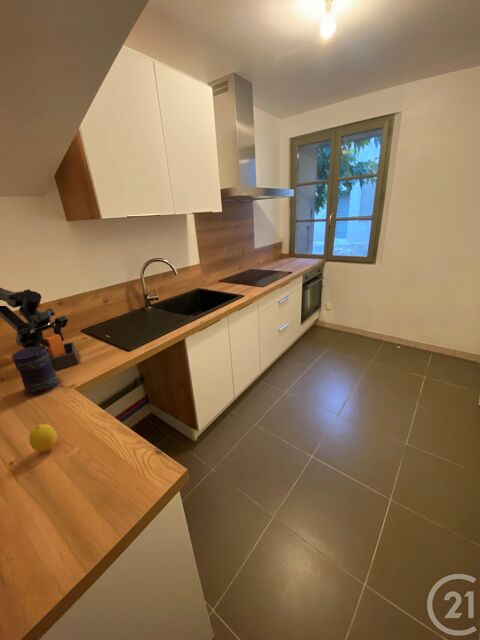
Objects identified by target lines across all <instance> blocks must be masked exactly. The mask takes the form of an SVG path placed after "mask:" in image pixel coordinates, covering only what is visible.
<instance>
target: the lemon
mask: <svg viewBox="0 0 480 640" xmlns="http://www.w3.org/2000/svg"><path fill="white" fill-rule="evenodd" d="M28 438H29V444H30V446H31V448H32V449H33V450H35V451H37V452H46V451H49V450H51V448H53V447H54V445H55V444H56V442H57V438H58V435H57V432H56V429H55V428H54V427H53V426H52V425H50V424H48V423H47V424H46V423H42V424H39V425H36V426H35V427H34V428H33V429H32V430H31V431H30V433H29V437H28Z"/></svg>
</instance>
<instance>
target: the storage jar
mask: <svg viewBox="0 0 480 640" xmlns="http://www.w3.org/2000/svg"><path fill="white" fill-rule="evenodd" d="M11 358H12V360H13V363H14V366H15V368H16V371H18V372H19V375H20V377H21V382H22V384H23V387H24V389H25V390H26V393H27V395H28V396H39V395H44V394H46V393H48V392H51V391H52V390H54V389H55V388H56V387H57V386H59V380H58V376H57V373H56V371H54V369H53V368H52V365H51V362H50V361H51V360H50V357H49V354H48V352H47V347H46V346H44V345H40V346H32V347H28V348H23V349H20V350H18V351H16V352H14V353H13V354H12V355H11Z"/></svg>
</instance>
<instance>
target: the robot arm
mask: <svg viewBox="0 0 480 640" xmlns="http://www.w3.org/2000/svg"><path fill="white" fill-rule="evenodd" d="M0 300H3V301H6V303H7V306H0V318H1V319H2V320H3V321H4V322H6V323H7V324H8V325H9V326H10V327H12V328H13V329H14V330H15V331H16V337H15V338H16V339H15V343H16V345H17V346H18V347H22V348H23V349H25V348H28V347H32V346H45V347H46V348H47V347H49V344H48V343H47V342H46V341H45V340H44V335H43V332H44V331H47V330H49V329H53V333H54V334H58V335H60V337H61V340H62V342H64V340H65V339H64V336H63V332H62V329H63V328H65V327H66V326H67V325H68V321H69V318H68V317H67V316H66V315H61V316H59V317H56V318H54V321H53V322H51V319H52V318H53V317H54V316H55V315H56V313H55V311H54V309H52V308H51V307H49V308H47V309H45V310H44V311H40V310H39V309H38V308H39V307H40V304H41V300H42V295H41V294H40V293H39V292H37V291H34V290H31V289H28V288H27V289H24V290H20V291H12V290H9V289H6V288H5V289H4V288H2V287H0ZM8 306H9V307H8ZM10 307H11V308H13V309H15V308H18V312H19V313H18V314H19V315H18V314H16V312H14V311H13V310H12V309H10ZM20 316H22V317H23V318H24V319H25V320H26V321H24V320H23V319H22V318H21V317H20Z"/></svg>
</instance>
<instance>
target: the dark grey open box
mask: <svg viewBox="0 0 480 640" xmlns="http://www.w3.org/2000/svg"><path fill="white" fill-rule="evenodd" d="M63 346H64V348H65V351H66V354H65V355H62V356H58V357H54V358H51V356H50V354H49V351H48V348H47V347H46V349H47V352H48V354H49V357H50V360H51V361H50V362H51V365H52V368H53V369H54V371H55V372H56V371H59V370H63V369H66V368H69V367H73V366H76V365H79V364H80V363H79V359H78V353H77V350H76V347H75V343H74V341H70V342H67V343H63Z"/></svg>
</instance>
